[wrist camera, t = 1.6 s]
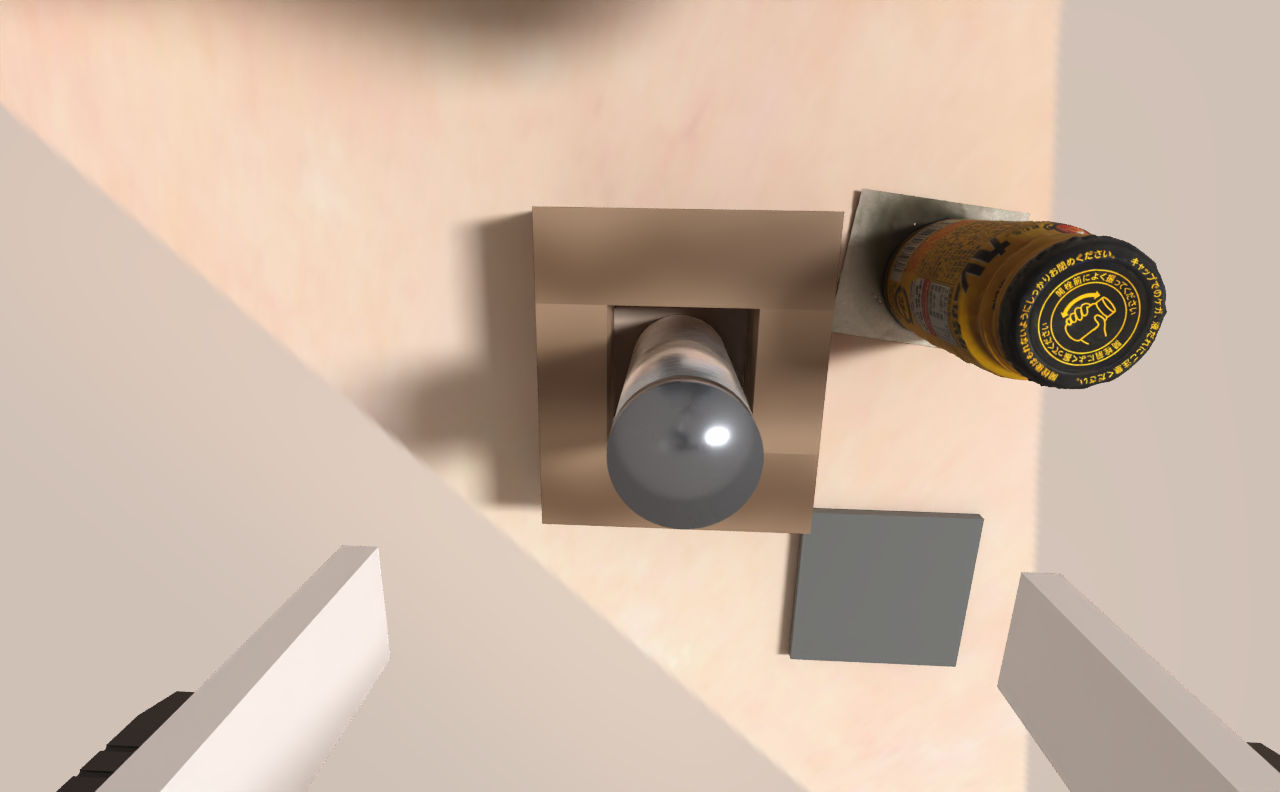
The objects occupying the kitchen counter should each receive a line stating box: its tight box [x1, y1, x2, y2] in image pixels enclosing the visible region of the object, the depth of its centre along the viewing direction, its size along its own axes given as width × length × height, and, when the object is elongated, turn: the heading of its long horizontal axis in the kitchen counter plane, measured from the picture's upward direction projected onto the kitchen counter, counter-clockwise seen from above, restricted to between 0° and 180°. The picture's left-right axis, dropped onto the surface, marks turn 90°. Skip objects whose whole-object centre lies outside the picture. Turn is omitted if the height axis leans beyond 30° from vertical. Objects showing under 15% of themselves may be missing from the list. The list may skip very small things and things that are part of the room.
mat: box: [789, 508, 984, 667], centre depth 37 cm, size 10×10×1 cm
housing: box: [532, 207, 844, 534], centre depth 32 cm, size 16×14×4 cm
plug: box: [606, 315, 764, 529], centre depth 27 cm, size 5×5×14 cm
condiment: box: [832, 189, 1167, 389], centre depth 26 cm, size 7×8×12 cm
